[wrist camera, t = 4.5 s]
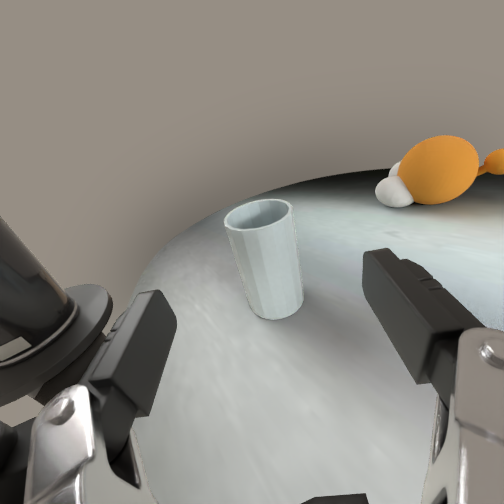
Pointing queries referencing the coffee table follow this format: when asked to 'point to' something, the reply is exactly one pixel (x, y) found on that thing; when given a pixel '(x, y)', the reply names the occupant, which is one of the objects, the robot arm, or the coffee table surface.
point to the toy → (436, 172)
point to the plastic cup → (267, 256)
